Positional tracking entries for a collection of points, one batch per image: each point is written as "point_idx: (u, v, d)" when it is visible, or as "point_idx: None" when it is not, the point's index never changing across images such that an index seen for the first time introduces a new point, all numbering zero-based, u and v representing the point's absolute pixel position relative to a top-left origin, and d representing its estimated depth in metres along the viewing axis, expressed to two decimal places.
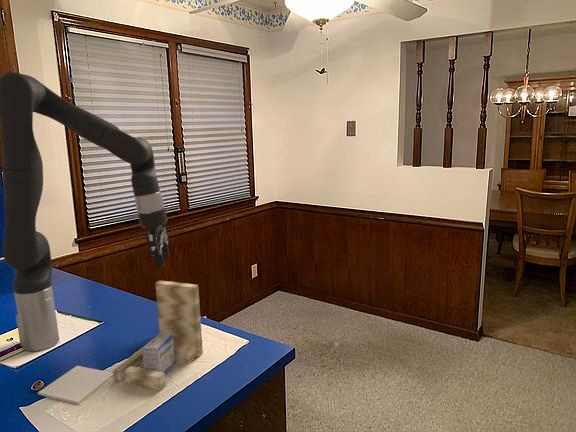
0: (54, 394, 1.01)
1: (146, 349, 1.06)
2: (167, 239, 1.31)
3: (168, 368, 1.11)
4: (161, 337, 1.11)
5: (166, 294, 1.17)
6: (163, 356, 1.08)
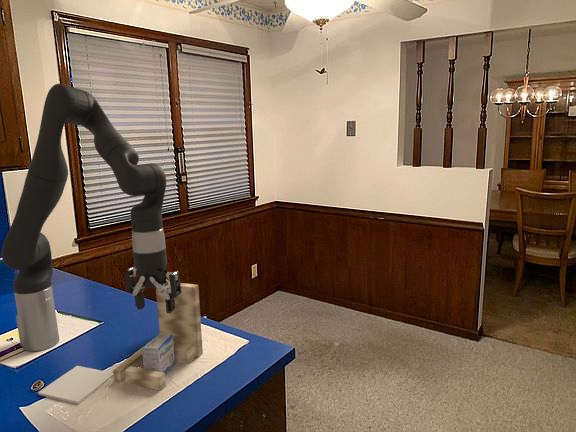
0: (54, 394, 1.01)
1: (146, 349, 1.06)
2: (171, 295, 1.04)
3: (168, 368, 1.11)
4: (161, 337, 1.11)
5: None
6: (163, 356, 1.08)
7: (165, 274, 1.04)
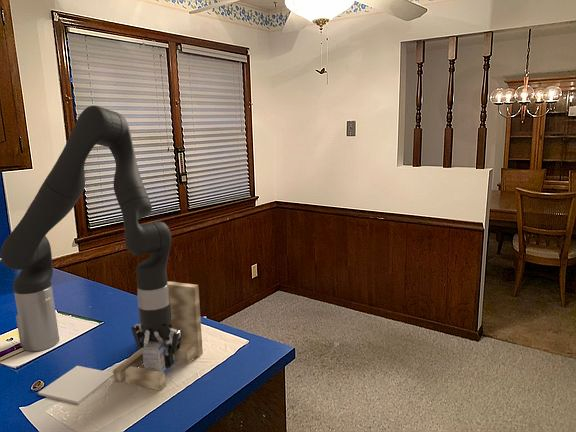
0: (54, 394, 1.01)
1: (146, 349, 1.06)
2: (170, 351, 1.07)
3: (168, 368, 1.11)
4: None
5: None
6: (163, 356, 1.08)
7: (170, 330, 1.07)
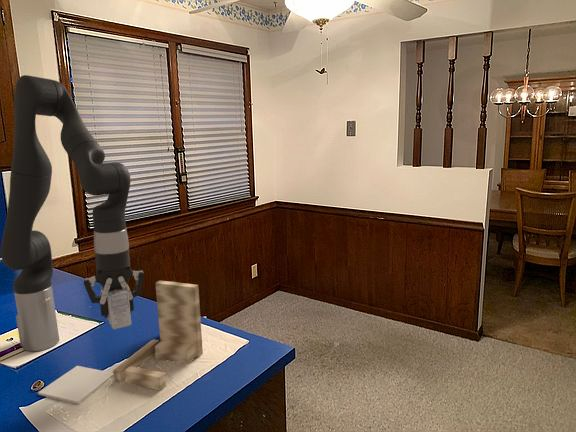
0: (54, 394, 1.01)
1: (114, 296, 1.01)
2: (135, 293, 1.06)
3: None
4: None
5: (166, 294, 1.17)
6: None
7: (133, 272, 1.05)
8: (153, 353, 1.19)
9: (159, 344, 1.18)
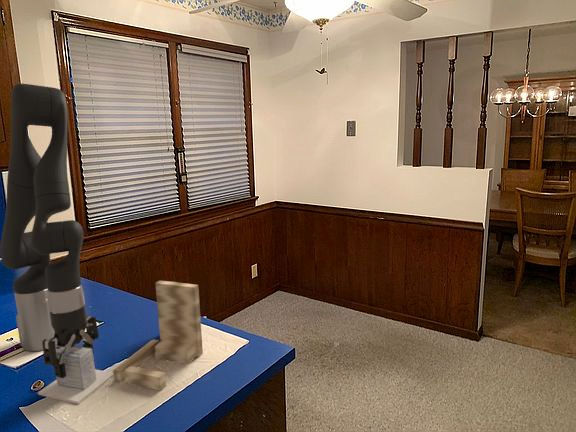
0: (54, 394, 1.01)
1: (83, 356, 1.02)
2: (94, 337, 1.09)
3: None
4: None
5: (166, 294, 1.17)
6: None
7: (85, 322, 1.07)
8: (153, 353, 1.19)
9: (159, 344, 1.18)
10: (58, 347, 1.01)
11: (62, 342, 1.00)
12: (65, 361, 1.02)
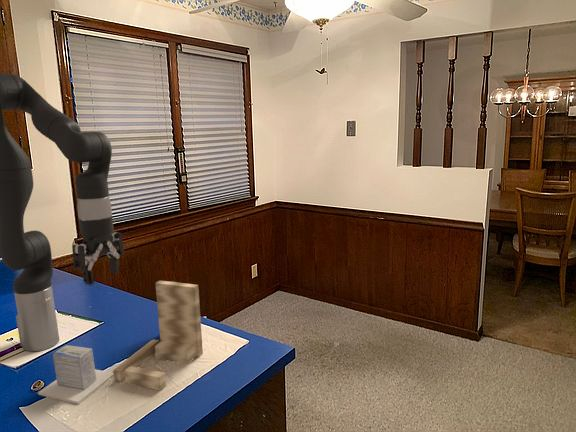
0: (54, 394, 1.01)
1: (83, 356, 1.02)
2: (120, 252, 1.13)
3: None
4: (66, 349, 1.04)
5: (166, 294, 1.17)
6: None
7: (112, 236, 1.11)
8: (153, 353, 1.19)
9: (159, 344, 1.18)
10: (86, 255, 1.05)
11: (90, 249, 1.04)
12: (65, 361, 1.02)
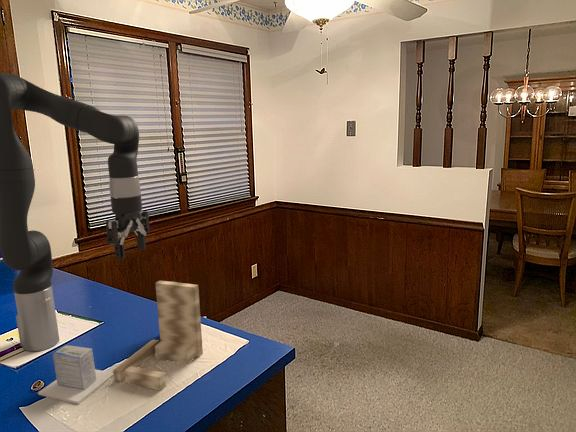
0: (54, 394, 1.01)
1: (83, 356, 1.02)
2: (147, 230, 1.20)
3: None
4: (66, 349, 1.04)
5: (166, 294, 1.17)
6: None
7: (140, 214, 1.18)
8: (153, 353, 1.19)
9: (159, 344, 1.18)
10: (118, 231, 1.13)
11: (122, 225, 1.11)
12: (65, 361, 1.02)
